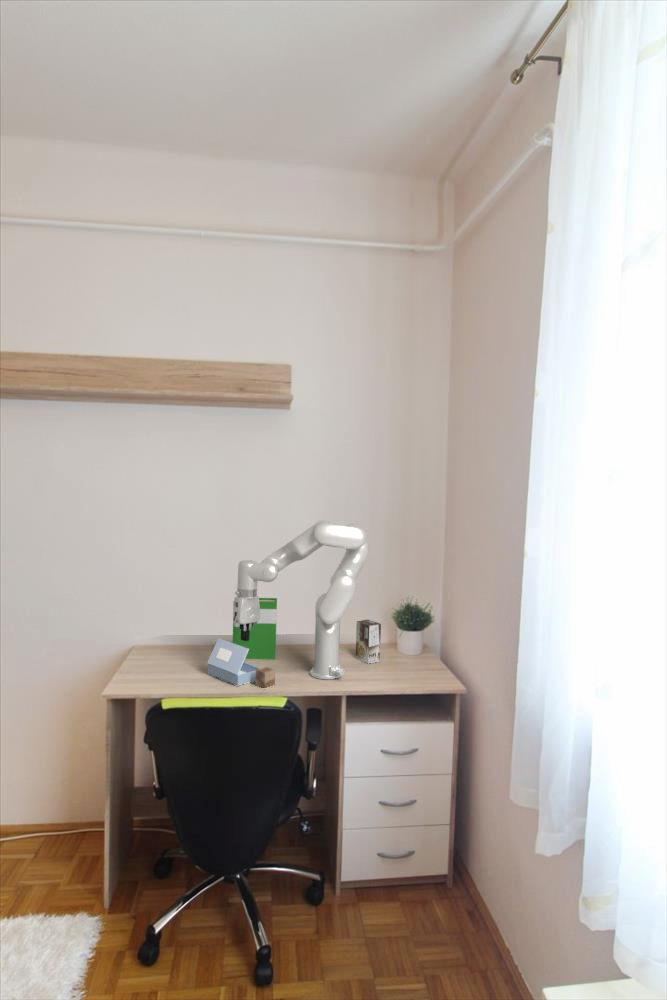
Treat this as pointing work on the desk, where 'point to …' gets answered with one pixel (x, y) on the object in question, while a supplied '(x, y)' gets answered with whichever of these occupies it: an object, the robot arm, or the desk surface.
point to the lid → (228, 656)
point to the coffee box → (368, 641)
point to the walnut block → (265, 677)
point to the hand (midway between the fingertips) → (244, 640)
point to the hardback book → (260, 632)
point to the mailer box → (244, 676)
